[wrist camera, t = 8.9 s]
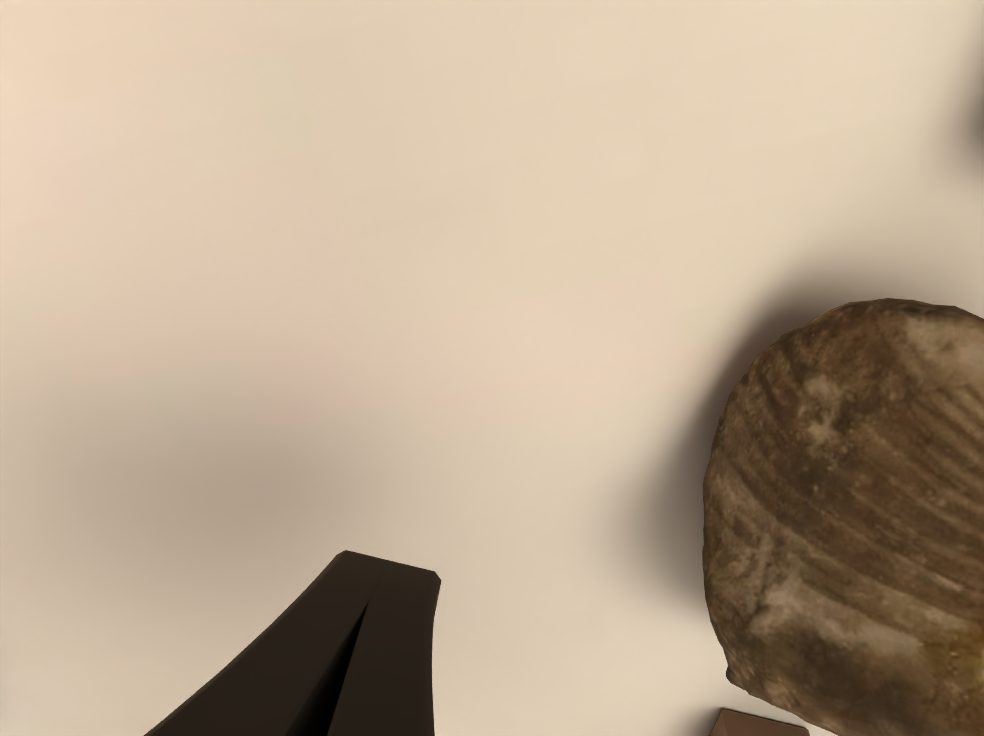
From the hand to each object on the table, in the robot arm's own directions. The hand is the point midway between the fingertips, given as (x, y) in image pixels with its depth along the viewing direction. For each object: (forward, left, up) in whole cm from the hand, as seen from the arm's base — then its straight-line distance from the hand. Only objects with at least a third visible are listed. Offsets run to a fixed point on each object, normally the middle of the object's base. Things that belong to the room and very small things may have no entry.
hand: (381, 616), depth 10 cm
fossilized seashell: (-9, 0, -6) cm, 11 cm away
